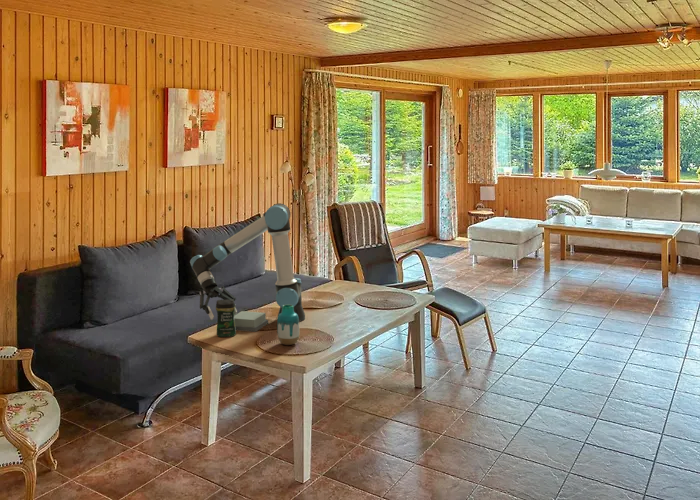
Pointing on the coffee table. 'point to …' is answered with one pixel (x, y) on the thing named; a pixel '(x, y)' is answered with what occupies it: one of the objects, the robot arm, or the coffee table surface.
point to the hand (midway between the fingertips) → (224, 315)
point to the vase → (288, 325)
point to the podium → (250, 321)
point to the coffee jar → (225, 318)
